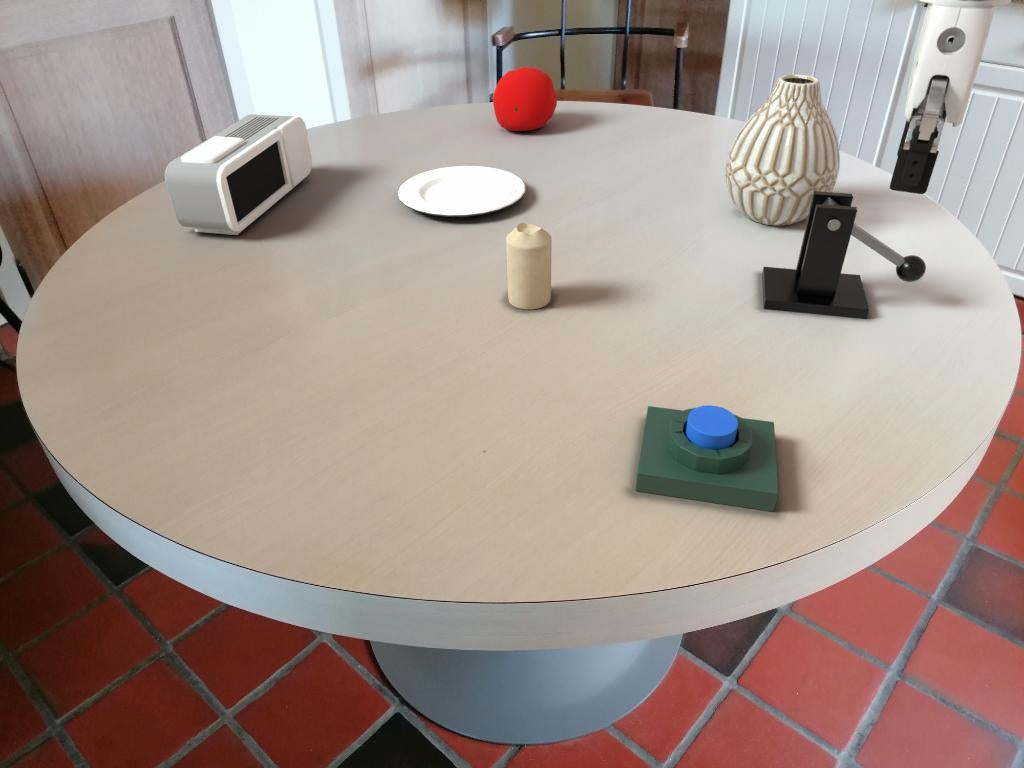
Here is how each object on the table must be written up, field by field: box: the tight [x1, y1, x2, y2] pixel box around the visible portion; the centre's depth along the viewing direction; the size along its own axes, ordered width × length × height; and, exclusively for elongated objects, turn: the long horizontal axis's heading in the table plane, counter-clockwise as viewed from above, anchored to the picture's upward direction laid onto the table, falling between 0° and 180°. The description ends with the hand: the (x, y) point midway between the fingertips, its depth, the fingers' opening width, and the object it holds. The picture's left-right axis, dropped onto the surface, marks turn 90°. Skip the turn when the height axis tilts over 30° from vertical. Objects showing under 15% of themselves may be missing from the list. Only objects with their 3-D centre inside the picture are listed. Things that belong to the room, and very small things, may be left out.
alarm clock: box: [164, 113, 313, 236], centre depth 120 cm, size 27×9×12 cm, turn 167°
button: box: [686, 404, 738, 450], centre depth 68 cm, size 4×4×2 cm
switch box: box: [635, 405, 779, 512], centre depth 69 cm, size 12×10×4 cm
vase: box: [725, 73, 841, 227], centre depth 110 cm, size 16×16×20 cm
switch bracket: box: [761, 191, 870, 320], centre depth 92 cm, size 12×9×13 cm
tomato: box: [492, 66, 558, 132], centre depth 150 cm, size 13×13×13 cm
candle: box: [505, 222, 553, 310], centre depth 93 cm, size 6×6×10 cm
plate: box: [397, 165, 526, 218], centre depth 123 cm, size 21×21×2 cm
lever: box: [822, 197, 927, 283], centre depth 90 cm, size 15×3×3 cm, turn 76°
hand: (910, 174), depth 75 cm, fingers open, 9 cm apart
